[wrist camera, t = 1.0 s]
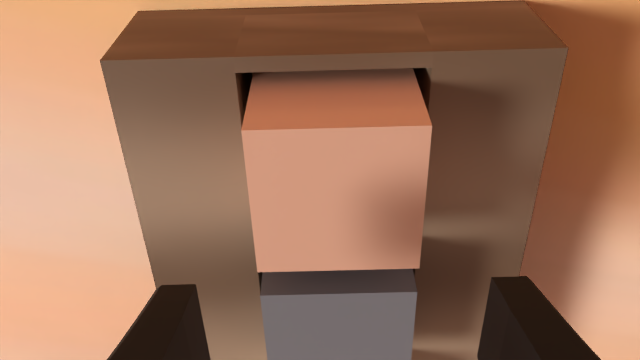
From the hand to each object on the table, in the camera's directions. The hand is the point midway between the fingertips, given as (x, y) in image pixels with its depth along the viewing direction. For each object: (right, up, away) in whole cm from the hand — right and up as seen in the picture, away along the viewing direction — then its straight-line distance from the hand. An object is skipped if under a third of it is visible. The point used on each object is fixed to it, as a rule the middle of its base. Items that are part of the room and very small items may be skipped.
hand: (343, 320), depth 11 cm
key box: (0, +1, +10) cm, 11 cm away
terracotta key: (0, +4, +6) cm, 7 cm away
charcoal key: (0, 0, +8) cm, 8 cm away
